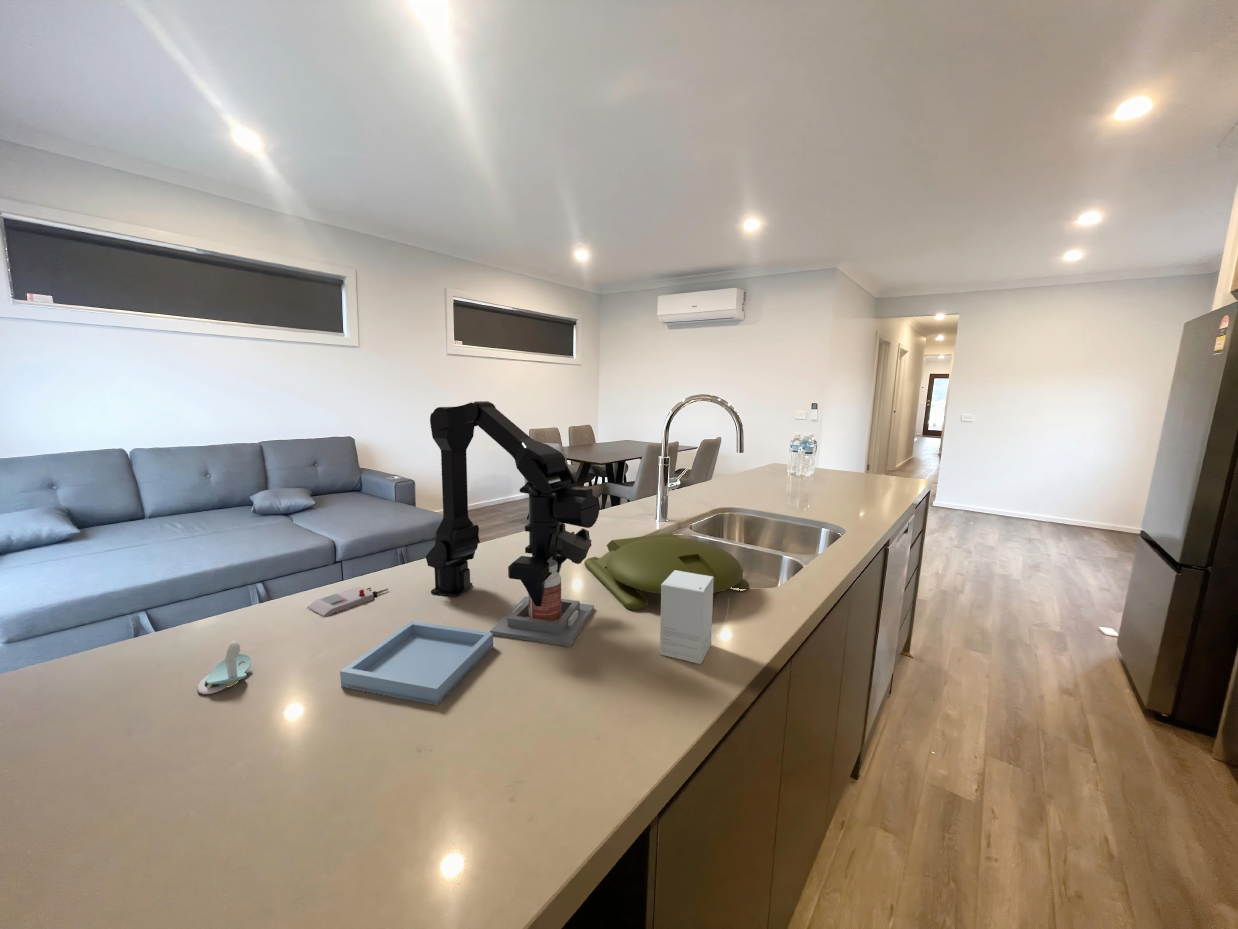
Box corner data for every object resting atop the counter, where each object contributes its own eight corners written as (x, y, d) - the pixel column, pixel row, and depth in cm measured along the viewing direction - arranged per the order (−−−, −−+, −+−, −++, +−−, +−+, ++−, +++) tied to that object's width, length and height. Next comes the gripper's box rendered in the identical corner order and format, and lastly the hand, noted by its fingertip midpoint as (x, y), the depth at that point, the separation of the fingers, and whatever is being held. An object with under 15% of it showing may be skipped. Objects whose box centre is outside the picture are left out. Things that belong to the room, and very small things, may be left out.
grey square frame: (490, 634, 86) (489, 622, 86) (525, 600, 101) (525, 589, 101) (569, 646, 83) (569, 633, 83) (594, 608, 97) (594, 597, 97)
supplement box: (712, 644, 85) (715, 576, 83) (700, 666, 78) (704, 592, 76) (672, 635, 88) (674, 568, 86) (657, 654, 81) (660, 583, 79)
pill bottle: (568, 619, 92) (568, 563, 90) (541, 629, 88) (540, 571, 86) (548, 608, 96) (548, 554, 95) (522, 617, 92) (521, 562, 90)
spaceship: (581, 566, 122) (581, 528, 121) (686, 551, 134) (687, 517, 133) (641, 629, 91) (643, 579, 89) (772, 603, 103) (775, 559, 101)
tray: (341, 686, 71) (339, 671, 70) (411, 634, 86) (411, 621, 86) (437, 705, 67) (436, 688, 67) (493, 646, 83) (493, 633, 82)
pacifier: (191, 703, 67) (244, 690, 70) (183, 662, 66) (238, 650, 69) (206, 675, 74) (254, 664, 76) (200, 637, 72) (249, 628, 75)
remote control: (297, 614, 94) (295, 599, 94) (375, 587, 107) (374, 574, 107) (313, 623, 91) (312, 608, 90) (392, 595, 103) (391, 581, 103)
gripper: (569, 537, 78) (568, 627, 80) (600, 509, 96) (599, 584, 98) (506, 531, 81) (507, 618, 83) (548, 505, 99) (548, 578, 101)
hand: (544, 598), depth 91 cm, fingers closed on pill bottle, 6 cm apart
